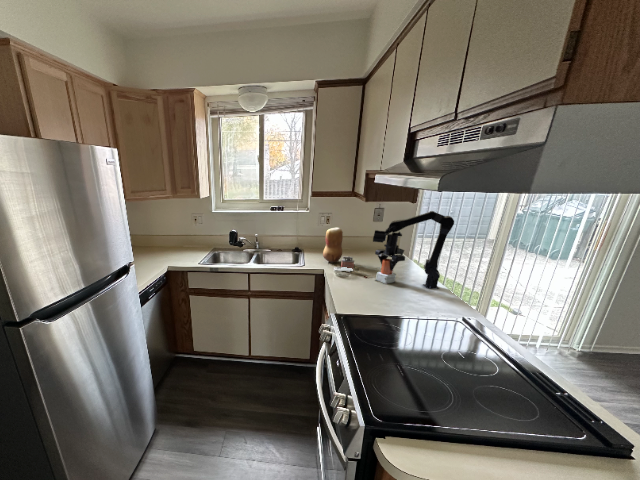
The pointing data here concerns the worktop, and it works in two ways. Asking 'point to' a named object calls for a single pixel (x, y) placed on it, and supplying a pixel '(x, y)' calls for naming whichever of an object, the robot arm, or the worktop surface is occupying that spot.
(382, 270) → the cup
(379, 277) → the small box
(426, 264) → the robot arm
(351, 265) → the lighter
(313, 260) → the worktop surface
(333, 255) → the butternut squash
